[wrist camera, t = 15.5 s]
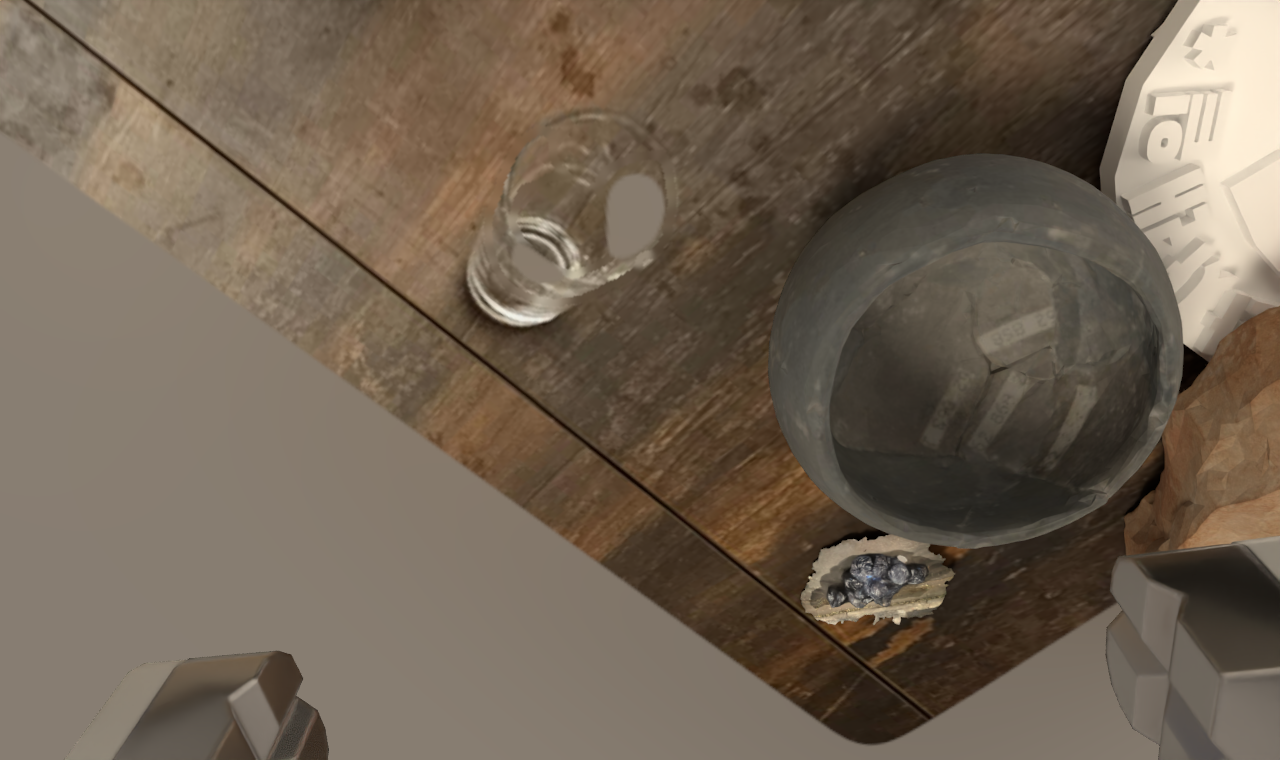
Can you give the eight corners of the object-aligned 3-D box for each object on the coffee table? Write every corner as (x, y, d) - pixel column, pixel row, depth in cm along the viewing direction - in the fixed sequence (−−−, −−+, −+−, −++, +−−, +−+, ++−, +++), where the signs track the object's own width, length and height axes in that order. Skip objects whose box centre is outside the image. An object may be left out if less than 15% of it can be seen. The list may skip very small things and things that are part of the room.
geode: (969, 588, 47) (980, 612, 46) (837, 652, 50) (843, 677, 48) (909, 501, 45) (918, 523, 43) (773, 572, 47) (777, 596, 46)
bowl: (1151, 157, 37) (1306, 230, 28) (1023, 460, 44) (1115, 597, 35) (800, 95, 36) (844, 150, 27) (724, 413, 43) (740, 541, 34)
